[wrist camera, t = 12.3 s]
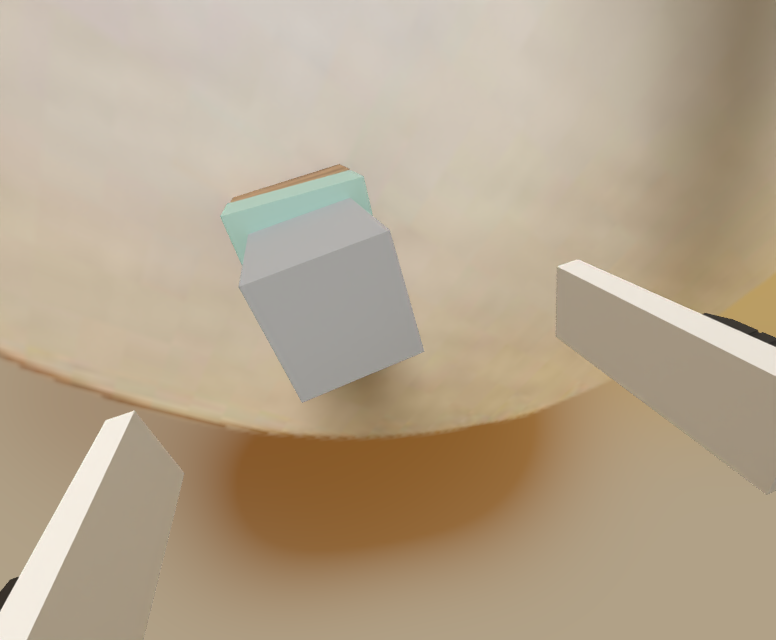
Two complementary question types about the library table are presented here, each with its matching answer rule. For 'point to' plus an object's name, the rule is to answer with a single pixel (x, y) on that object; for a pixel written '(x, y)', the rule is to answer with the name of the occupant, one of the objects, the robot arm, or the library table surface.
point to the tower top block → (290, 205)
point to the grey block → (329, 297)
